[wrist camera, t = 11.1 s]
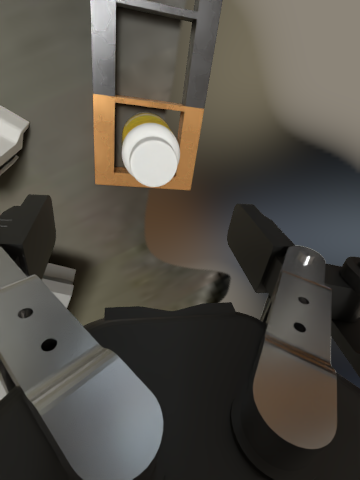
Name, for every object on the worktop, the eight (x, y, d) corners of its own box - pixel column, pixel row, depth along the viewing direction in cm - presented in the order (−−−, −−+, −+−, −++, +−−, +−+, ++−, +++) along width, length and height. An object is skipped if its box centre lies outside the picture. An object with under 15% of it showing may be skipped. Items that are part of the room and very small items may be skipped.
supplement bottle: (112, 123, 29) (108, 146, 21) (158, 102, 29) (172, 117, 21) (134, 169, 32) (139, 204, 24) (176, 150, 32) (195, 179, 24)
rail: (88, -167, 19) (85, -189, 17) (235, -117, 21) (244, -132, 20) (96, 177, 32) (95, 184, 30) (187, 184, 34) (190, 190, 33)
